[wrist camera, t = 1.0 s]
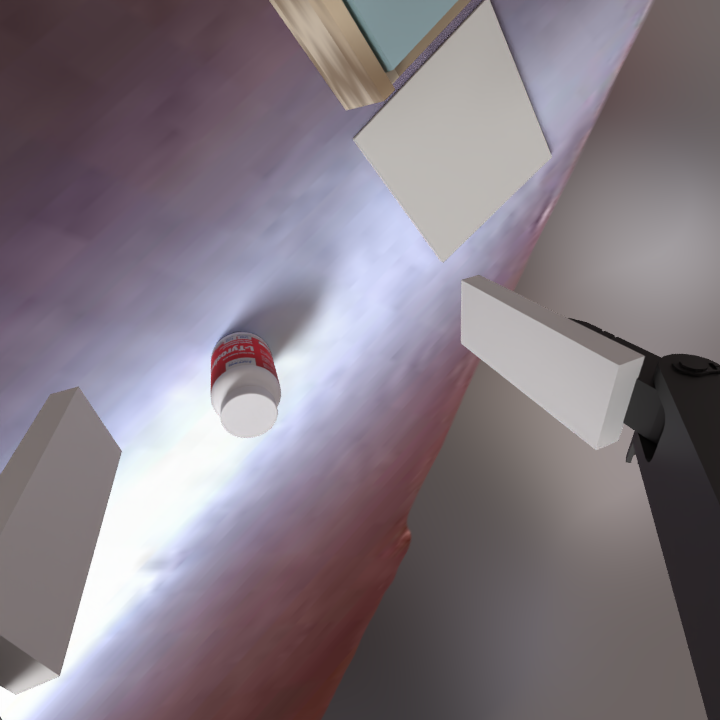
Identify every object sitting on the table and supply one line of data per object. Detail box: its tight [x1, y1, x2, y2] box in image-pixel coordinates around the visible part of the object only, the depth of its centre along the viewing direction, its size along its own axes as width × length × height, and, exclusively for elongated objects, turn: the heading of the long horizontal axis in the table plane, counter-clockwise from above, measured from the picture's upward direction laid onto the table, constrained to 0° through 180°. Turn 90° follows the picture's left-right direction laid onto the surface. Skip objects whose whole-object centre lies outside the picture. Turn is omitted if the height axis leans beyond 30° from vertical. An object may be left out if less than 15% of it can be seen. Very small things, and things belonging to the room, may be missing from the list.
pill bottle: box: [211, 332, 281, 438], centre depth 37 cm, size 6×6×11 cm
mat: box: [353, 0, 552, 262], centre depth 38 cm, size 16×16×1 cm
